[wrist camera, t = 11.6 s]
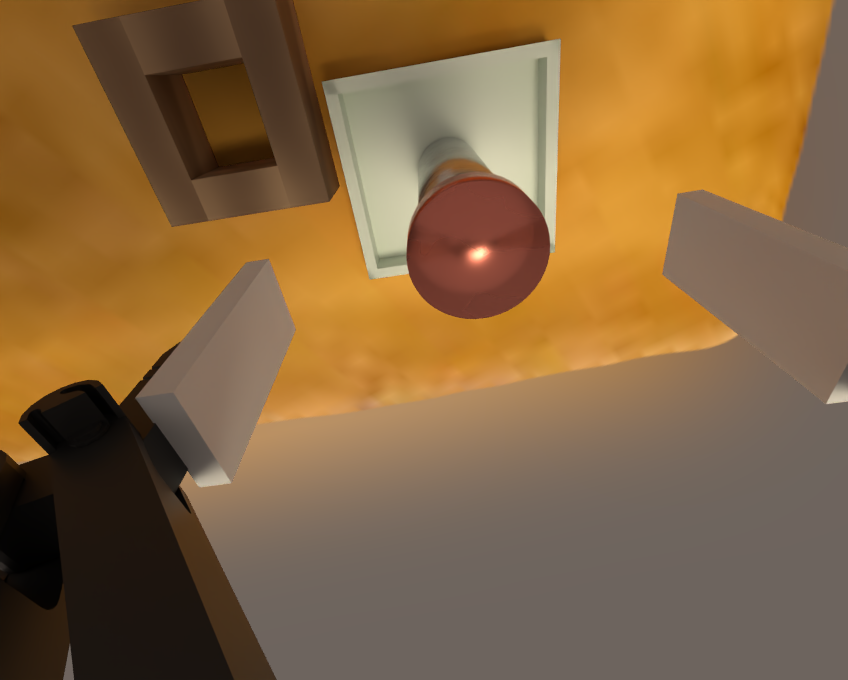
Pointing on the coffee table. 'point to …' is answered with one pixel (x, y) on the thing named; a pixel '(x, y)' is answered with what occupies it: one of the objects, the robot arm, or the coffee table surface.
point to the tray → (444, 135)
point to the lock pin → (473, 235)
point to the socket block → (178, 120)
